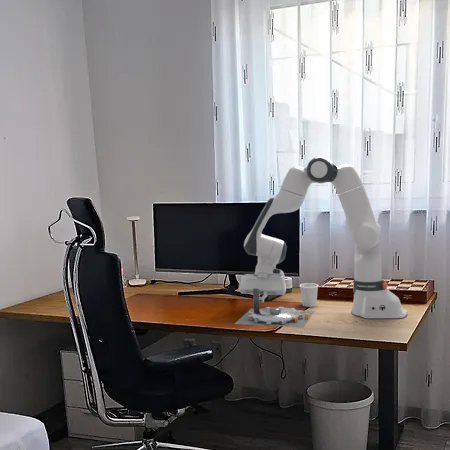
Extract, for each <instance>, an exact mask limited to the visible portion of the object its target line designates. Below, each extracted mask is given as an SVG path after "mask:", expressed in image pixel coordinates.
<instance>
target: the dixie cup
mask: <svg viewBox="0 0 450 450" xmlns="http://www.w3.org/2000/svg"><path fill="white" fill-rule="evenodd" d="M299 289H300V295H301V303H302V306H303V307H307V308H308V307H309V308H311V307H312V308H313V307H316V306H317V300H318V289H319V284H318V283H308V282H307V283H301V284H300V285H299Z"/></svg>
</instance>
